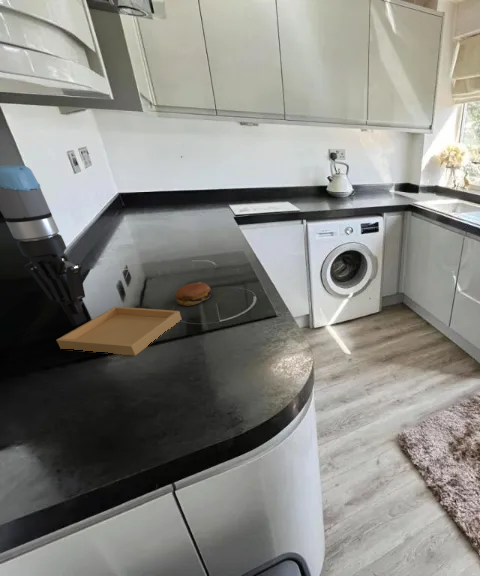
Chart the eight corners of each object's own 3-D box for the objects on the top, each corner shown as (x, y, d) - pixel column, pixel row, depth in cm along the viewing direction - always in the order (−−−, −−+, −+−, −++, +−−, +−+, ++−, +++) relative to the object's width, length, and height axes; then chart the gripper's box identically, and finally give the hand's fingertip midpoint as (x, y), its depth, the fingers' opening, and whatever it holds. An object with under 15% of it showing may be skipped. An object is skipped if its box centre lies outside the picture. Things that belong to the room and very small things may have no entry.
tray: (60, 349, 78) (55, 340, 77) (118, 314, 93) (115, 306, 92) (135, 355, 77) (131, 346, 75) (181, 319, 91) (179, 310, 90)
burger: (172, 307, 97) (168, 294, 95) (184, 294, 105) (180, 281, 103) (207, 305, 99) (204, 291, 97) (216, 292, 107) (213, 279, 105)
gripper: (79, 233, 77) (114, 317, 88) (31, 231, 79) (71, 314, 89) (46, 242, 71) (89, 332, 81) (-6, 240, 72) (42, 329, 82)
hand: (79, 323), depth 85 cm, fingers closed
